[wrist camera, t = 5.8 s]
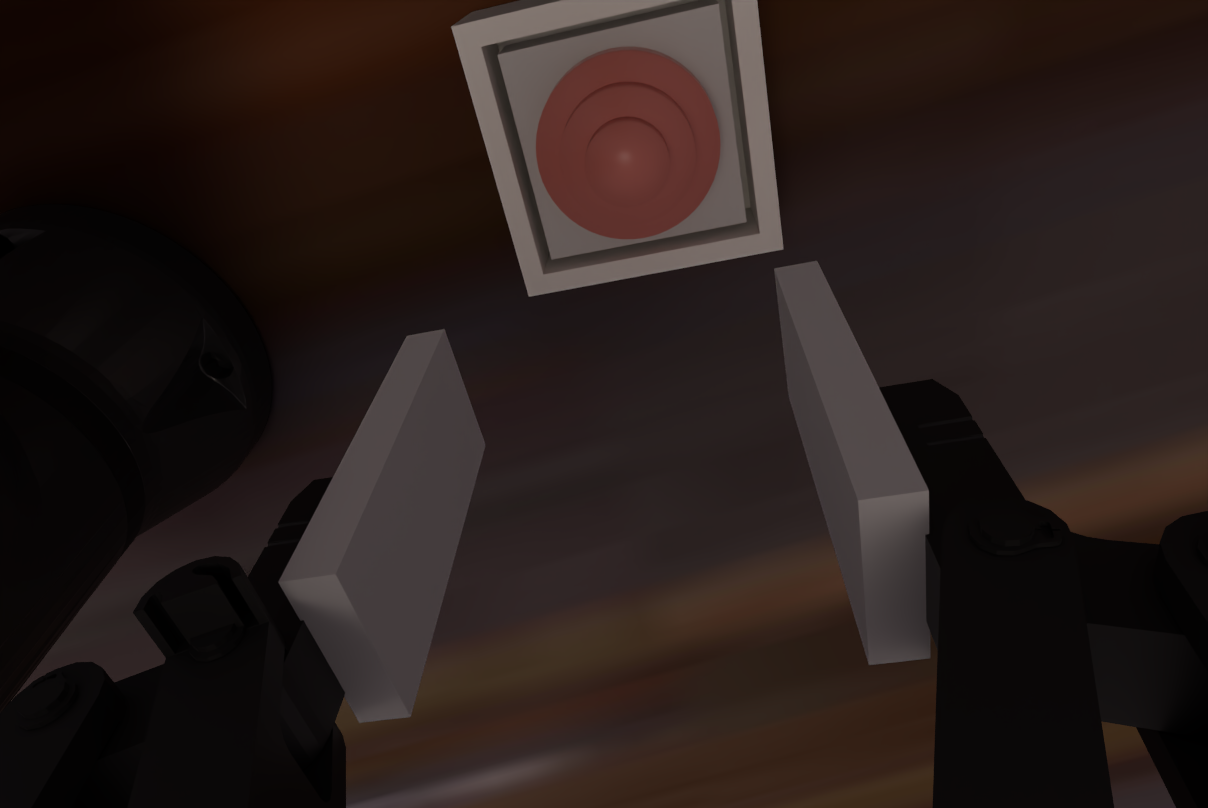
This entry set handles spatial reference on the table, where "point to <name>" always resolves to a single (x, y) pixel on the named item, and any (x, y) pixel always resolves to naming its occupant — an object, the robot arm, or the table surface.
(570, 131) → the dome plunger
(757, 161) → the popper housing
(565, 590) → the table surface
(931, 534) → the robot arm
